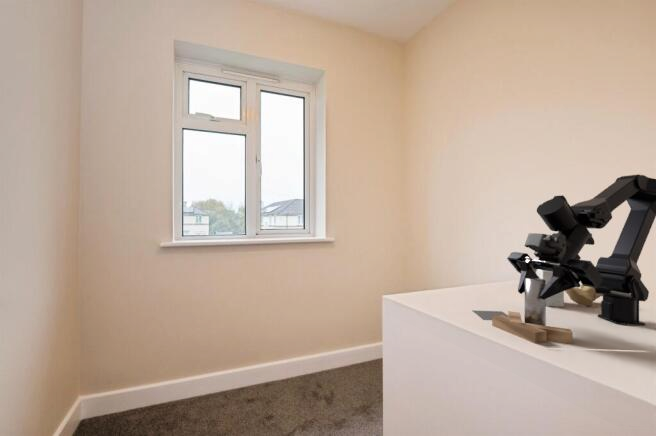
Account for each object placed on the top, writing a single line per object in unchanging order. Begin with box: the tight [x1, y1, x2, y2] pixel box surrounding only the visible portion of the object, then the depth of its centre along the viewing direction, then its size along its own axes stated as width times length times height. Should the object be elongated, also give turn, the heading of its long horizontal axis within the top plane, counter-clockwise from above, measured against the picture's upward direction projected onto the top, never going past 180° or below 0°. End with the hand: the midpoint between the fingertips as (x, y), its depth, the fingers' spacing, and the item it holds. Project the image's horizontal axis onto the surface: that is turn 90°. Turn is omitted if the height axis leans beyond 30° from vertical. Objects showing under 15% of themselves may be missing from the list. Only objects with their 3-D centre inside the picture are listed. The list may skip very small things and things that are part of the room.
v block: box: [491, 310, 574, 345], centre depth 69 cm, size 9×15×2 cm, turn 17°
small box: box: [536, 269, 565, 308], centre depth 95 cm, size 8×6×10 cm
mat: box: [471, 309, 508, 321], centre depth 81 cm, size 8×8×1 cm
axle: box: [524, 278, 547, 326], centre depth 70 cm, size 4×4×12 cm
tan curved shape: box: [564, 283, 604, 308], centre depth 95 cm, size 8×7×12 cm
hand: (530, 295), depth 69 cm, fingers open, 5 cm apart
